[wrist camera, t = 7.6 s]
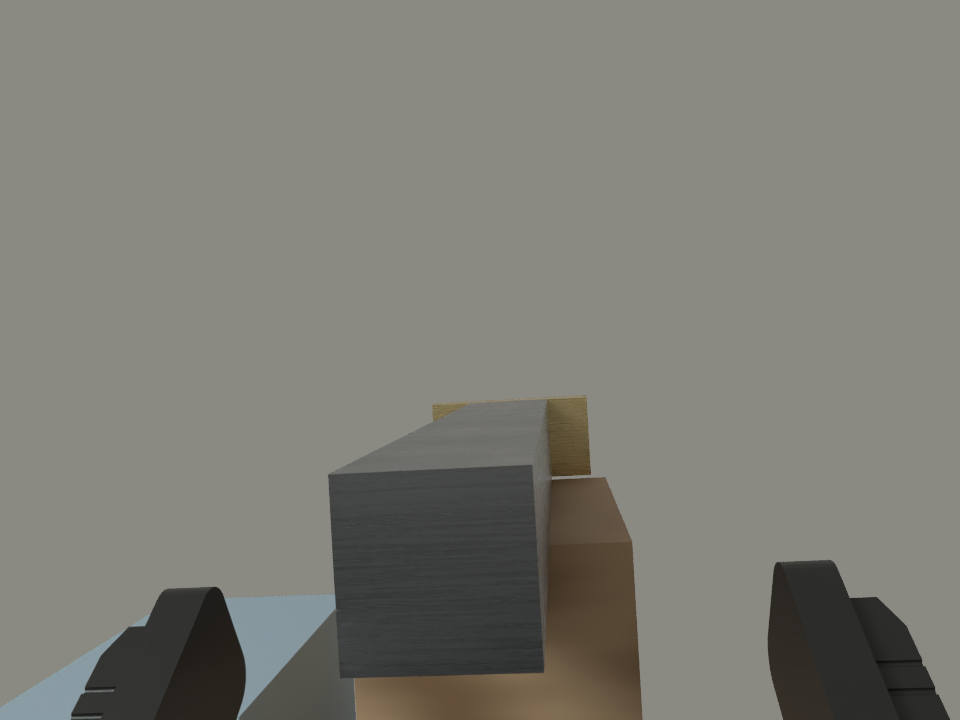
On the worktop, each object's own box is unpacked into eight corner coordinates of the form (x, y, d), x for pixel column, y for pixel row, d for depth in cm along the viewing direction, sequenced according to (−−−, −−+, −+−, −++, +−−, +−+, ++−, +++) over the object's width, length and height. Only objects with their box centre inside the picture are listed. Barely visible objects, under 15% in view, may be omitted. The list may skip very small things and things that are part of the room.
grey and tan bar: (240, 681, 13) (229, 479, 13) (441, 476, 37) (437, 403, 37) (649, 669, 13) (637, 459, 13) (589, 469, 36) (585, 395, 36)
